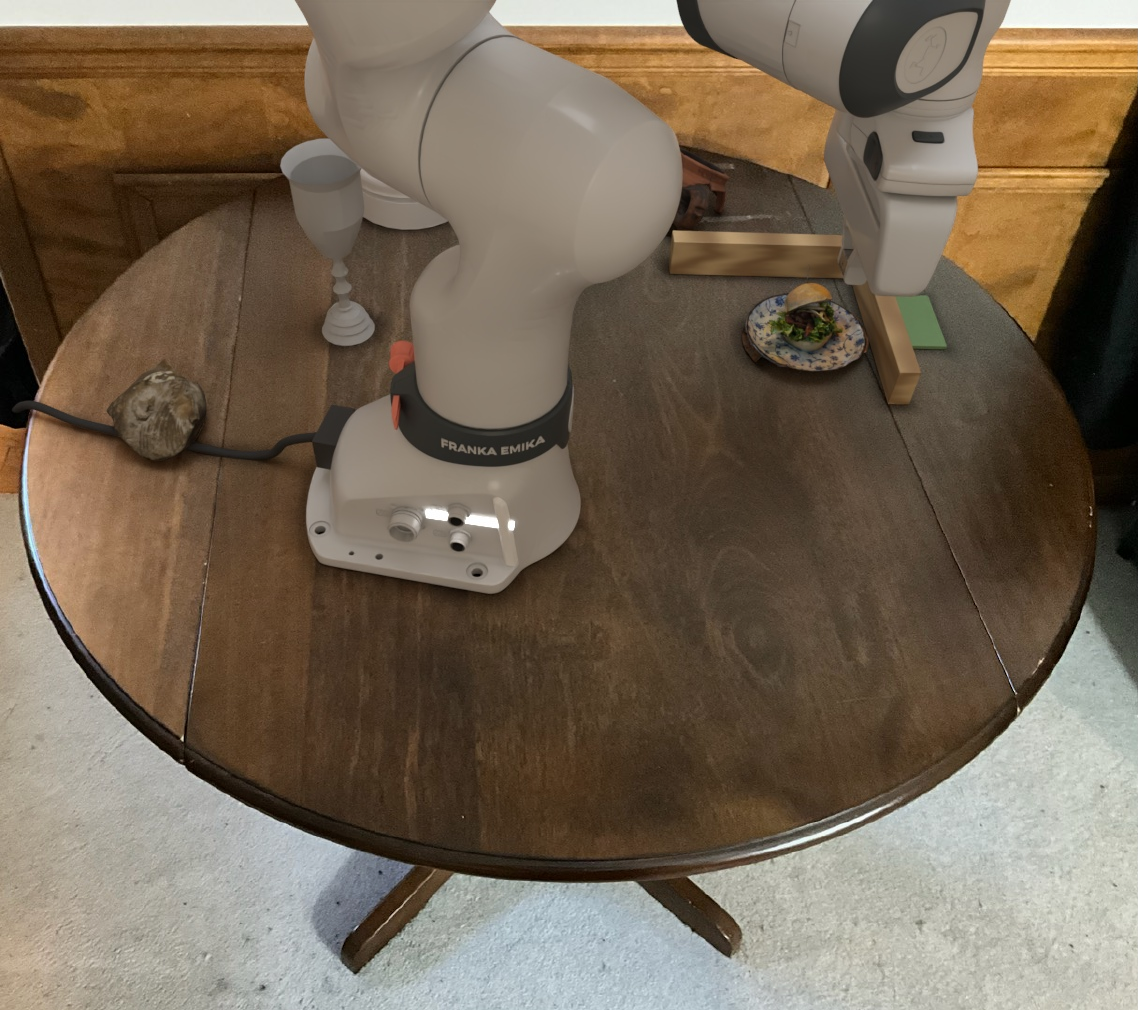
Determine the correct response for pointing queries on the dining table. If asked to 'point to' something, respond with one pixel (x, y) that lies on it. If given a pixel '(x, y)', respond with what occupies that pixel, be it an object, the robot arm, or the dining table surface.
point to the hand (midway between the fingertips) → (850, 274)
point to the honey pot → (394, 207)
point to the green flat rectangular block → (921, 322)
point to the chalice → (330, 225)
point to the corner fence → (792, 260)
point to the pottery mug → (698, 190)
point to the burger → (804, 331)
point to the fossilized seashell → (159, 413)
